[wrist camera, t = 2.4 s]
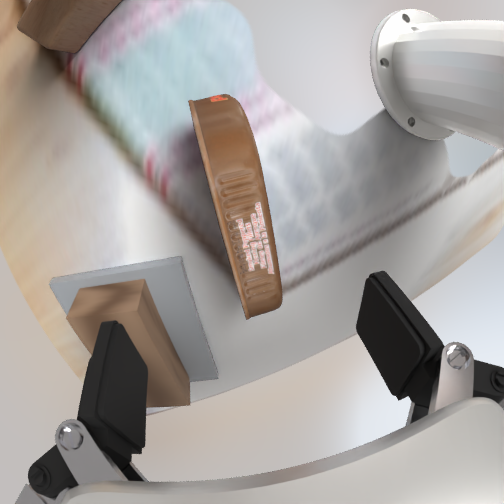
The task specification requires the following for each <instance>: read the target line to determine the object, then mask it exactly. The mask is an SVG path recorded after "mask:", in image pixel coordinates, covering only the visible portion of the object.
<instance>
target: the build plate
mask: <svg viewBox="0 0 504 504" xmlns="http://www.w3.org/2000/svg"><path fill="white" fill-rule="evenodd" d="M139 279H145V280H146V283H147V286H148V288H149V291H150V293H151V296H152V298H153V300H154V303H155V305H156V308H157V310H158V312H159V315H160V317H161V319H162V322H163V324H164V326H165V328H166V330H167V333H168V335H169V337H170V339H171V341H172V343H173V346H174V348H175V350H176V352H177V354H178V356H179V358H180V360H181V362H182V364H183V366H184V368H185V370H186V372H187V374H188V376H189V378H190V382H194V381H203V380H212V379H218V371H217V368H216V366H215V363H214V360H213V357H212V354H211V351H210V349H209V346H208V343H207V340H206V337H205V334H204V331H203V328H202V324H201V321H200V318H199V315H198V312H197V309H196V306H195V302H194V299H193V296H192V292H191V289H190V286H189V282H188V279H187V275H186V272H185V268H184V265H183V261H182V257H181V256H180V257H174V258H168V259H162V260H156V261H150V262H144V263H138V264H132V265H126V266H120V267H114V268H108V269H102V270H96V271H90V272H85V273H79V274H73V275H67V276H61V277H56V278H52V280H51V282H50V283H49V285H50V287H51V289H52V291H53V292H54V294H55V296H56V298H57V299H58V301H59V303H60V304H61V306H62V308H63V309H64V311H65V313H66V314H67V315H68V312H69V310H70V308H71V306H72V303H73V301H74V299H75V297H76V295H77V293H78V290H79V288H85V287H92V286H99V285H105V284H112V283H119V282H125V281H132V280H139Z"/></svg>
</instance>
